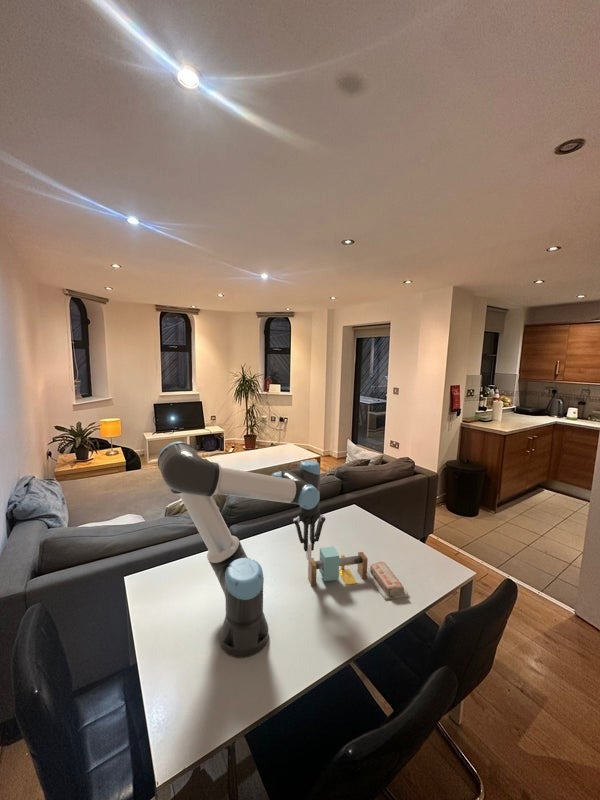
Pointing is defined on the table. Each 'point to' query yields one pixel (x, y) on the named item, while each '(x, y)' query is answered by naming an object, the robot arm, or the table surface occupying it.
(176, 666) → the table surface
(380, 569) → the packaged product
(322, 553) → the collar
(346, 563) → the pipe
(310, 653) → the table surface
